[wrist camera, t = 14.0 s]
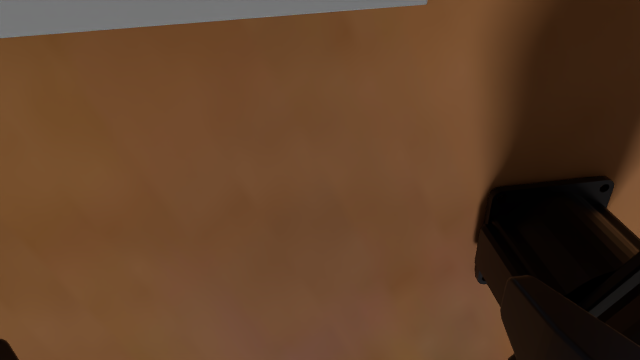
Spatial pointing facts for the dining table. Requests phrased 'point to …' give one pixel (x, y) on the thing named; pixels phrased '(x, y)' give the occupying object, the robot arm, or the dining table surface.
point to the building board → (156, 12)
